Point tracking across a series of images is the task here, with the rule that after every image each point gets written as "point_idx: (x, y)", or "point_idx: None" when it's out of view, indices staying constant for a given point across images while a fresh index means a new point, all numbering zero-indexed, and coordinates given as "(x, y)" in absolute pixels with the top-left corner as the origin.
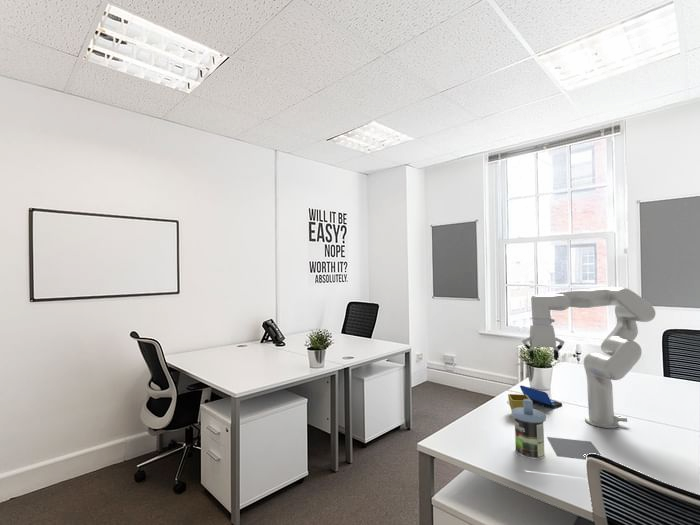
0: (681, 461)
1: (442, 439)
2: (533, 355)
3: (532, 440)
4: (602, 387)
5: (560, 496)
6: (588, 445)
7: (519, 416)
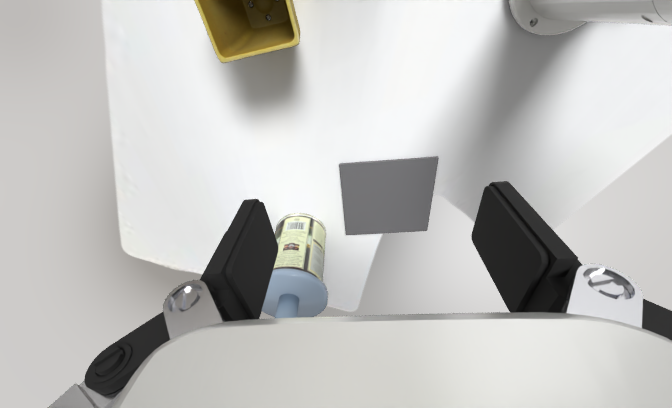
0: (584, 187)
1: (140, 230)
2: (268, 280)
3: None
4: None
5: (333, 305)
6: (422, 179)
7: (272, 314)
